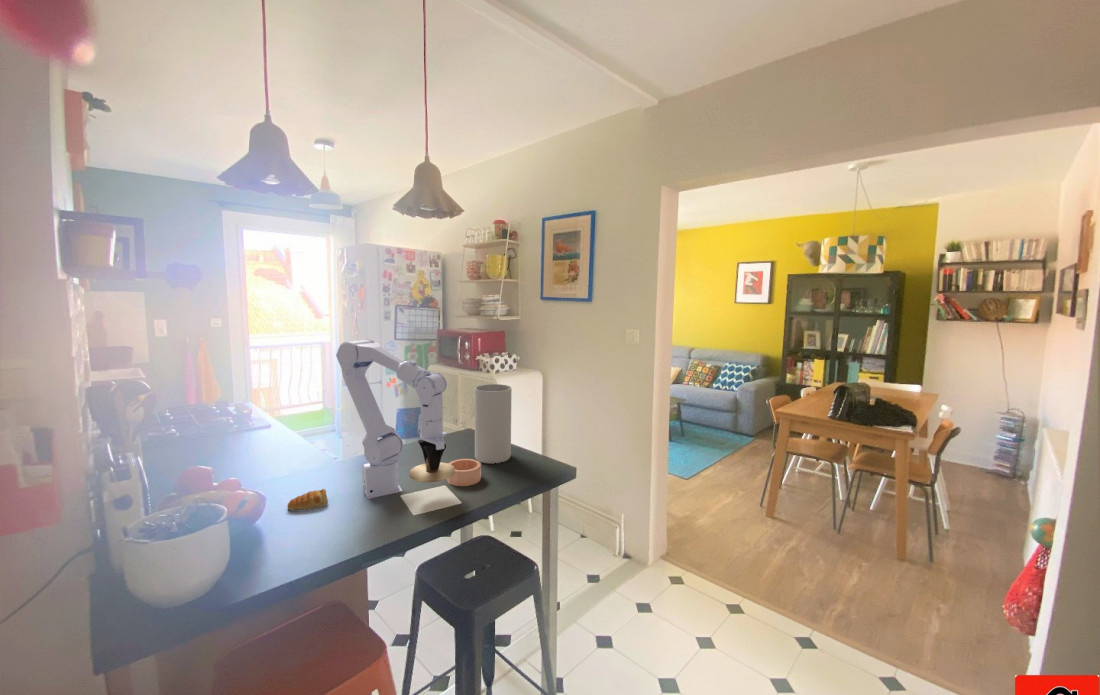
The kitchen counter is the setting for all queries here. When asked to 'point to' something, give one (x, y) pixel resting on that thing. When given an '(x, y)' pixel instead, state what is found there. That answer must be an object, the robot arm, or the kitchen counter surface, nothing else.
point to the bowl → (465, 472)
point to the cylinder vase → (492, 423)
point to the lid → (431, 472)
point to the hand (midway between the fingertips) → (432, 467)
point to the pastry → (309, 501)
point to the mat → (430, 500)
